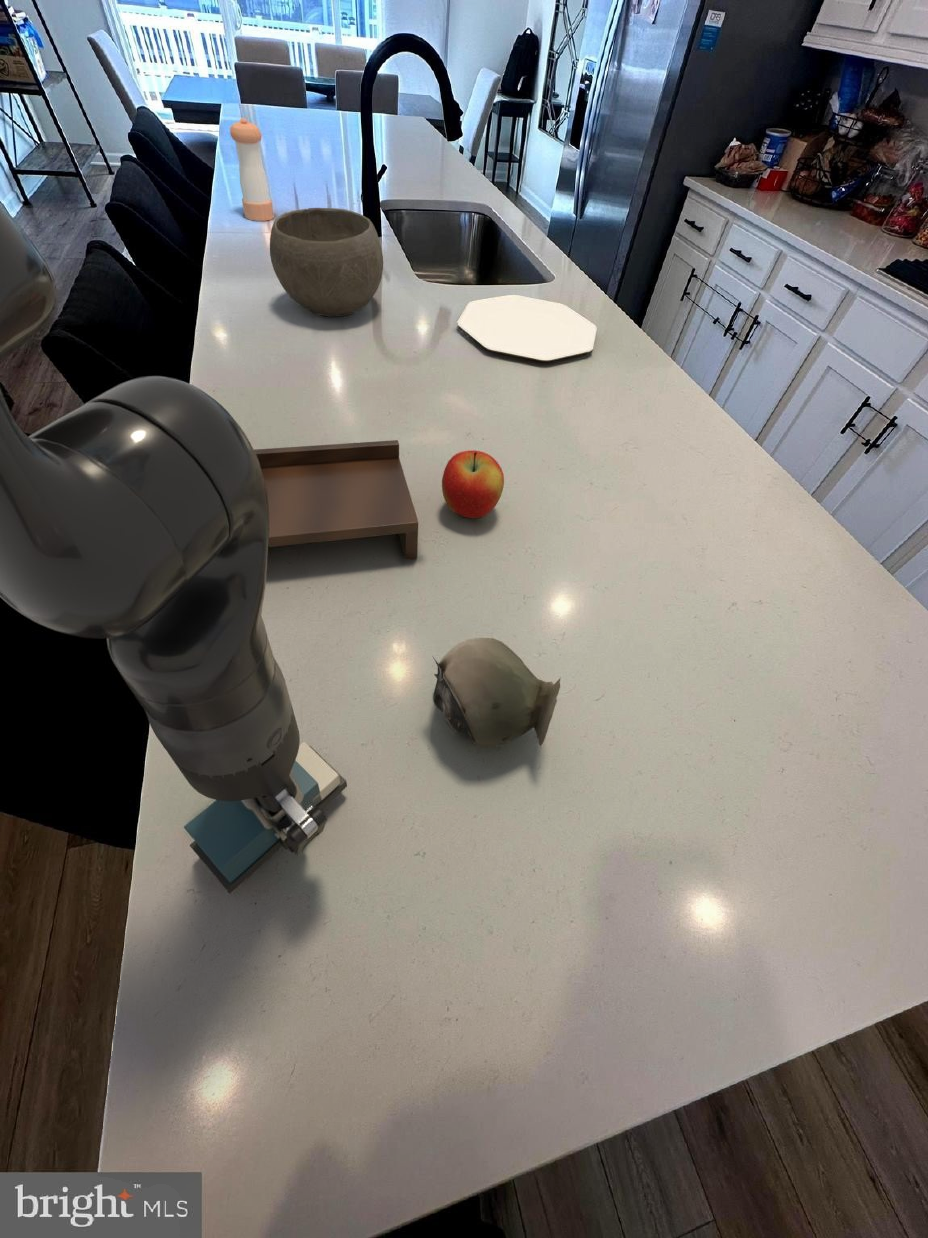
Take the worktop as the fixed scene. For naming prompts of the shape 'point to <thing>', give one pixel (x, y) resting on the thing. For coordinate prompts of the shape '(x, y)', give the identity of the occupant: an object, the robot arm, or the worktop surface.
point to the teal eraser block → (256, 823)
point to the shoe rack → (338, 494)
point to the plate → (528, 328)
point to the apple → (472, 483)
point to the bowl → (327, 259)
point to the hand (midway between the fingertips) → (273, 814)
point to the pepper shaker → (252, 171)
